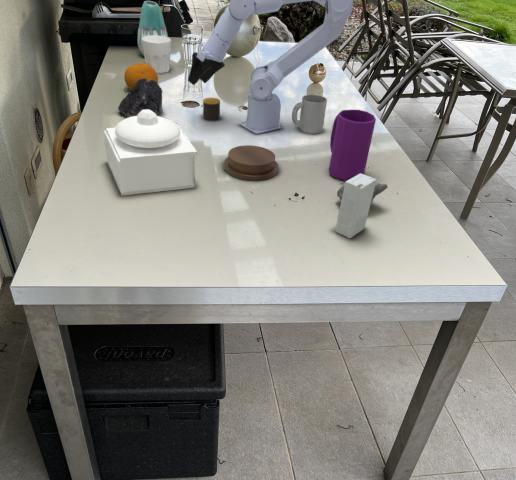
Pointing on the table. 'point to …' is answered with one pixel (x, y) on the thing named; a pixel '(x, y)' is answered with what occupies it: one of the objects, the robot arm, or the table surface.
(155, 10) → the vase
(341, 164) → the mug
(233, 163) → the pod stand
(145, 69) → the fruit
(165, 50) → the cup
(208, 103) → the coffee pod
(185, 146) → the butter dish
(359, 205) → the cosmetic box
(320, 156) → the table surface
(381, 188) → the fossil
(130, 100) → the crystal cluster
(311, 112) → the cup
